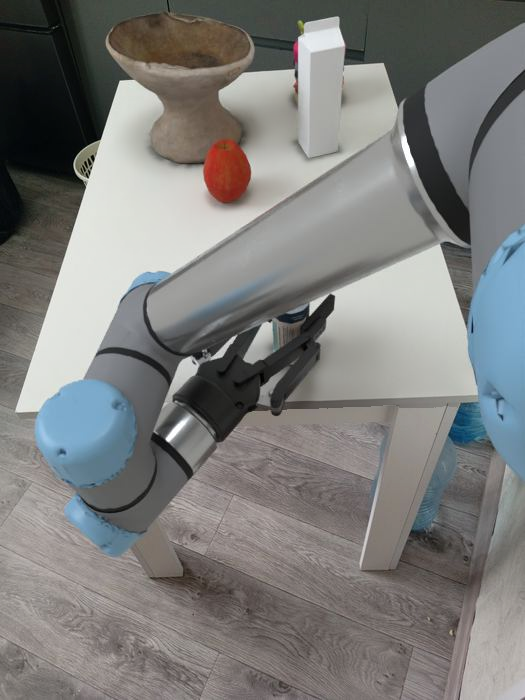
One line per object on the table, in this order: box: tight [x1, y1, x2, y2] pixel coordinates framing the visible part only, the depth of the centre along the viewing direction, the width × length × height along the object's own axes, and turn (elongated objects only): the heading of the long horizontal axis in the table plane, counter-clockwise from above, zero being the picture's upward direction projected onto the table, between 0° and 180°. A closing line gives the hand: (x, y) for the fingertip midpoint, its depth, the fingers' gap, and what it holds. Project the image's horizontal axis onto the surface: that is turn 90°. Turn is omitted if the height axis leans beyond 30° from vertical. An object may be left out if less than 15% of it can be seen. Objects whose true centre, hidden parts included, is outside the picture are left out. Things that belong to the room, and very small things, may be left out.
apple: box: [202, 139, 252, 204], centre depth 86 cm, size 8×8×11 cm
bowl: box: [105, 10, 256, 164], centre depth 94 cm, size 26×25×20 cm
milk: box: [297, 16, 346, 159], centre depth 89 cm, size 6×6×22 cm
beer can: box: [271, 302, 311, 366], centre depth 65 cm, size 5×5×12 cm
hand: (314, 292), depth 66 cm, fingers closed on beer can, 5 cm apart
